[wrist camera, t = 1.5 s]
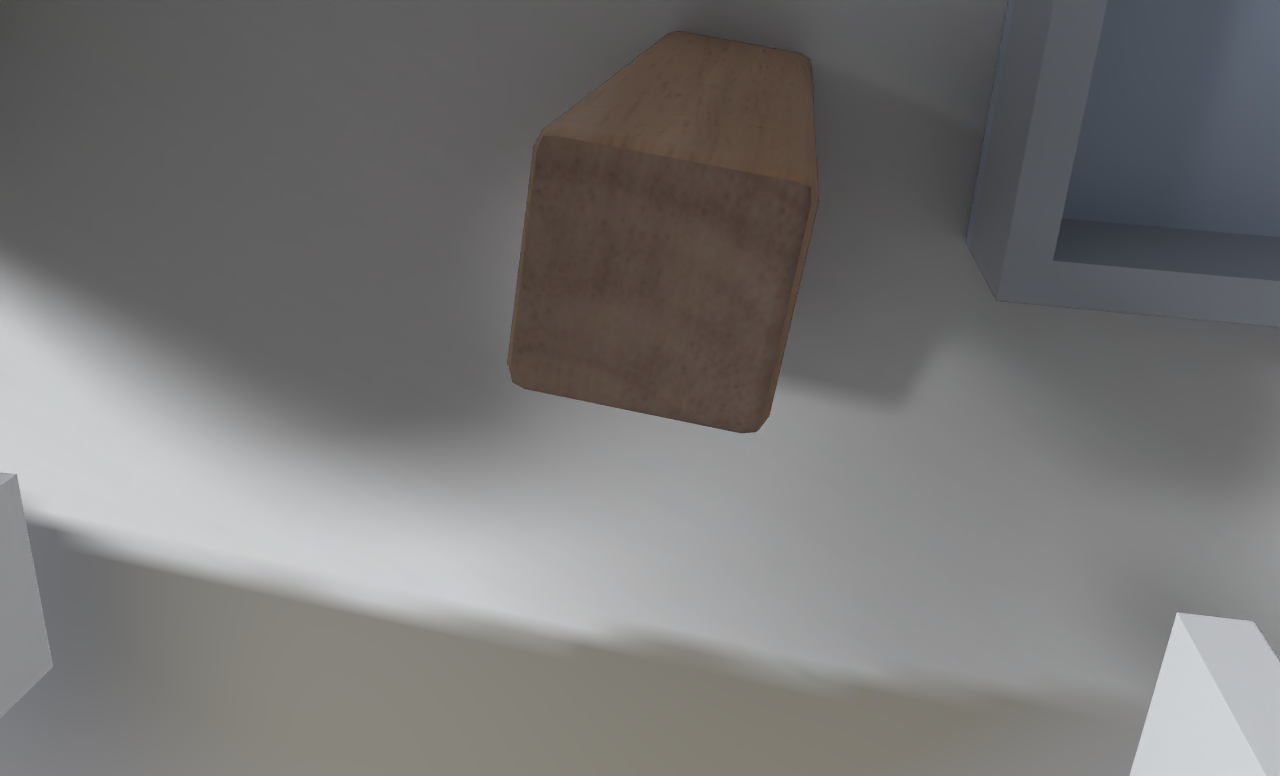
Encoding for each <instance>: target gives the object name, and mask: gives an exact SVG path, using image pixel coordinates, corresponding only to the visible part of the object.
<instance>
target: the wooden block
mask: <svg viewBox="0 0 1280 776" xmlns="http://www.w3.org/2000/svg"><path fill="white" fill-rule="evenodd" d="M818 202H819V195H818V177H817V158H816V140H815V122H814V96H813V79H812V69H811V63H810V59H809V58H807V57H806V56H804V55H803V54H801V53H796V52H790V51H785V50H779V49H774V48H768V47H763V46H757V45H752V44H746V43H741V42H735V41H730V40H724V39H719V38H713V37H708V36H703V35H697V34H692V33H686V32H681V31H677V32H673V33H668V34H667V35H666V36H665V37H663V38H662V39H661V40H659V41H658V42H657V43H655V44H654V45H653V46H651V47H650V48H649V49H647V50H646V51H645V52H644V53H642V54H641V55H640V56H638V57H637V58H636V59H634V60H633V61H632V62H631V63H629V64H628V65H627V66H625V67H624V68H623V69H621V70H620V71H619V72H617V73H616V74H615V75H614V76H612V77H611V78H610V79H608V80H607V81H606V82H604V83H603V84H602V85H600V86H599V87H598V88H597V89H595V90H594V91H593V92H591V93H590V94H589V95H587V96H586V97H585V98H584V99H582V100H581V101H580V102H578V103H577V104H576V105H574V106H573V107H572V108H570V109H569V110H568V111H567V112H565V113H564V114H563V115H561V116H560V117H559V118H557V119H556V120H555V121H553V122H552V123H551V124H550V125H548V126H547V127H546V128H544V129H543V130H542V132H541V134H540V136H539V137H538V139H537V141H536V143H535V144H534V146H533V154H532V162H531V171H530V179H529V187H528V196H527V204H526V212H525V221H524V229H523V237H522V245H521V254H520V262H519V270H518V279H517V287H516V295H515V304H514V312H513V320H512V328H511V337H510V345H509V353H508V362H507V363H508V366H509V370H510V373H511V378H512V382H513V383H515V384H517V385H519V386H520V387H522V388H524V389H528V390H533V391H538V392H543V393H547V394H552V395H557V396H562V397H567V398H572V399H577V400H582V401H586V402H591V403H596V404H601V405H606V406H611V407H616V408H621V409H625V410H630V411H635V412H640V413H645V414H650V415H655V416H660V417H665V418H669V419H674V420H679V421H684V422H689V423H694V424H699V425H704V426H708V427H713V428H718V429H723V430H728V431H733V432H738V433H750V432H756V431H758V430H759V429H760V427H761V426H762V425H763V424H764V422H765V421H766V420H767V418H768V417H769V415H770V411H771V406H772V402H773V398H774V393H775V389H776V385H777V380H778V376H779V372H780V367H781V363H782V359H783V354H784V350H785V346H786V341H787V337H788V332H789V328H790V324H791V319H792V315H793V311H794V306H795V302H796V298H797V293H798V289H799V285H800V280H801V276H802V272H803V267H804V263H805V259H806V254H807V250H808V245H809V241H810V237H811V232H812V228H813V224H814V219H815V215H816V211H817V206H818Z"/></svg>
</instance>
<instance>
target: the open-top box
mask: <svg viewBox="0 0 1280 776" xmlns="http://www.w3.org/2000/svg"><path fill="white" fill-rule="evenodd" d="M966 243H967V245H968V247H969V249H970V251H971V253H972V255H973V257H974V259H975V260H976V262H977V264H978V266H979V268H980V270H981V272H982V274H983V276H984V278H985V280H986V282H987V284H988V285H989V287H990V289H991V291H992V293H993V295H994V297H995V299H996V301H1003V302H1014V303H1025V304H1035V305H1046V306H1057V307H1067V308H1078V309H1089V310H1099V311H1110V312H1121V313H1131V314H1142V315H1153V316H1163V317H1174V318H1185V319H1195V320H1206V321H1217V322H1227V323H1238V324H1249V325H1259V326H1270V327H1280V0H1008V4H1007V10H1006V16H1005V21H1004V27H1003V33H1002V38H1001V44H1000V50H999V55H998V61H997V67H996V72H995V78H994V84H993V89H992V95H991V101H990V106H989V112H988V118H987V123H986V129H985V135H984V140H983V146H982V152H981V157H980V163H979V169H978V174H977V180H976V185H975V191H974V197H973V202H972V208H971V214H970V219H969V225H968V231H967V236H966Z"/></svg>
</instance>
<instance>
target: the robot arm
mask: <svg viewBox="0 0 1280 776" xmlns="http://www.w3.org/2000/svg"><path fill="white" fill-rule="evenodd" d="M52 667H53V664H52V658H51V653H50V648H49V643H48V638H47V632H46V627H45V623H44V616H43V611H42V606H41V601H40V595H39V590H38V585H37V580H36V574H35V569H34V564H33V558H32V553H31V548H30V543H29V537H28V532H27V527H26V521H25V516H24V511H23V505H22V500H21V495H20V490H19V484H18V479H17V474H9V473H0V718H1V717H2V716H3V715H4V714H5V713H6V712H7V711H8V710H9V709H10V708H11V707H12V706H13V705H14V704H15V703H16V702H17V701H18V700H19V699H20V698H21V697H22V696H23V695H24V694H25V693H26V692H27V691H28V690H30V688H31V687H33V685H35V684H36V683H37V682H38V681H39V680H40V679H41V678H42V677H43V676H44V675H45V674H46V673H47V672H48V671H49V670H50V669H51V668H52ZM1130 776H1280V662H1279V660H1278V658H1277V657H1276V655H1275V654H1274V652H1273V651H1272V649H1271V648H1270V646H1269V645H1268V643H1267V642H1266V640H1265V638H1264V637H1263V635H1262V634H1261V632H1260V631H1259V629H1258V628H1257V626H1256V625H1255V623H1254V622H1253V621H1246V620H1238V619H1229V618H1221V617H1212V616H1204V615H1195V614H1187V613H1179V612H1177V614H1176V617H1175V621H1174V624H1173V628H1172V631H1171V635H1170V638H1169V642H1168V645H1167V648H1166V652H1165V655H1164V659H1163V662H1162V666H1161V669H1160V673H1159V676H1158V680H1157V683H1156V686H1155V690H1154V693H1153V697H1152V700H1151V704H1150V707H1149V711H1148V714H1147V717H1146V721H1145V724H1144V728H1143V731H1142V735H1141V738H1140V742H1139V745H1138V749H1137V753H1136V755H1135V759H1134V762H1133V766H1132V769H1131V773H1130Z"/></svg>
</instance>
